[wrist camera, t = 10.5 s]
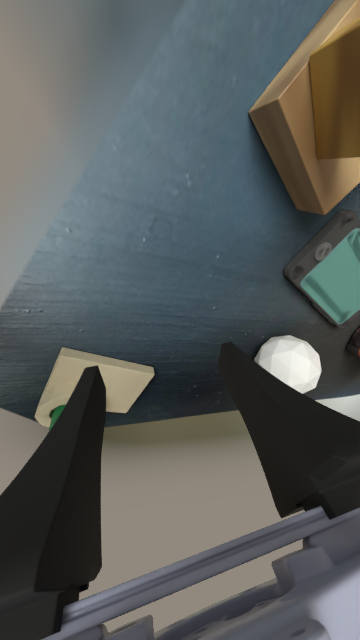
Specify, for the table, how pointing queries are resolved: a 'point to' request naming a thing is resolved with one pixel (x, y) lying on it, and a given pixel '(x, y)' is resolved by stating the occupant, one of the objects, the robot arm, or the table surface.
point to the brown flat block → (305, 123)
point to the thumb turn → (337, 94)
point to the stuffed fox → (355, 343)
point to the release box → (117, 375)
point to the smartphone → (331, 269)
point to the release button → (56, 415)
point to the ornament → (291, 362)
